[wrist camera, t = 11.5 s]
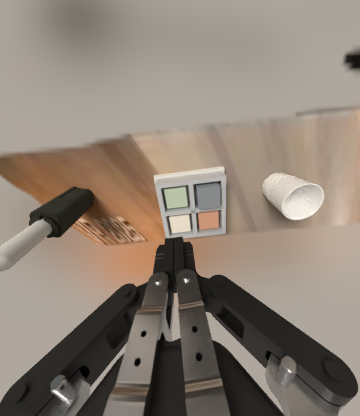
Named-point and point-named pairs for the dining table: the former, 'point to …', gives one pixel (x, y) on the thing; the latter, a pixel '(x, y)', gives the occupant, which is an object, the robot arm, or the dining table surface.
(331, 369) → the robot arm
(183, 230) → the key cream
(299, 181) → the white cup
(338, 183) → the dining table surface
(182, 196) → the key sage
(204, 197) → the key slate
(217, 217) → the key terracotta
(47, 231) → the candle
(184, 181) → the keypad
